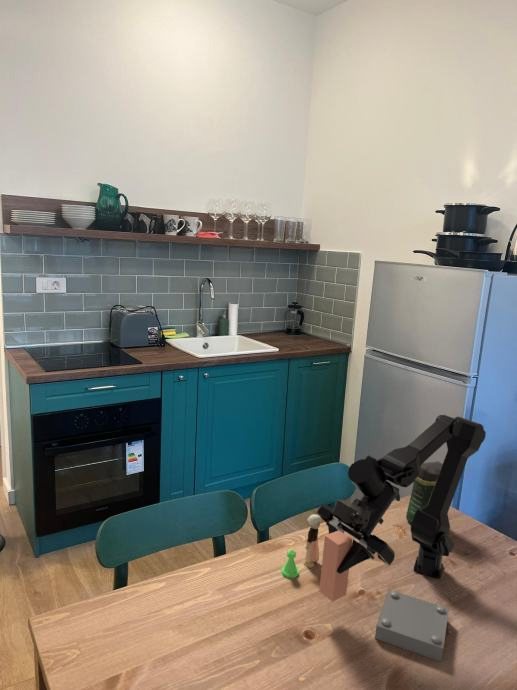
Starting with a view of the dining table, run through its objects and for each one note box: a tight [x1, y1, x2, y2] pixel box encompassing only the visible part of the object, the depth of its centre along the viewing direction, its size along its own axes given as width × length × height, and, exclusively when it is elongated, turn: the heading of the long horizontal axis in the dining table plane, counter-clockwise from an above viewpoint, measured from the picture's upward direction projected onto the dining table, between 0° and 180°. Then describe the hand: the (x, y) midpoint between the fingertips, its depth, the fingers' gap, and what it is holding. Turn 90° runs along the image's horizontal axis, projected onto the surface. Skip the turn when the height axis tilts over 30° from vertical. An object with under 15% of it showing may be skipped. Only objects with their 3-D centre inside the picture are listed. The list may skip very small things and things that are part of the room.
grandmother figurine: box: [303, 514, 322, 569], centre depth 133 cm, size 8×4×13 cm, turn 168°
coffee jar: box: [405, 460, 443, 525], centre depth 155 cm, size 10×8×19 cm
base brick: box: [374, 589, 450, 662], centre depth 112 cm, size 13×13×4 cm
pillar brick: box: [319, 530, 353, 602], centre depth 113 cm, size 4×4×13 cm
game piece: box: [280, 549, 300, 579], centre depth 128 cm, size 4×4×6 cm
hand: (330, 567), depth 112 cm, fingers closed on pillar brick, 4 cm apart
